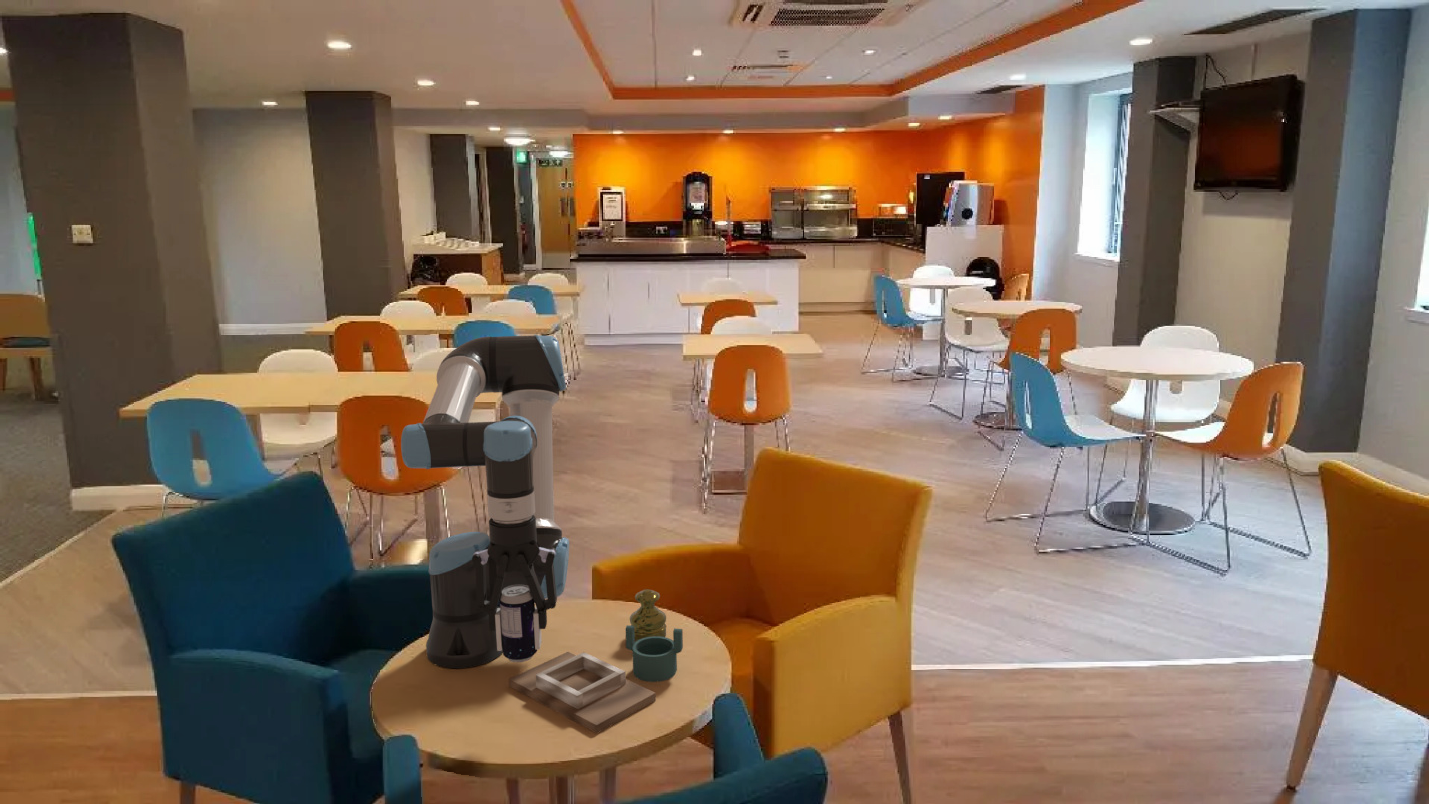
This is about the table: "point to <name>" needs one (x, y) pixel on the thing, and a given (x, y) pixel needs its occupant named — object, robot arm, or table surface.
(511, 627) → the beverage can
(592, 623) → the table surface
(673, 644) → the teal cauldron pot
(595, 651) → the table surface
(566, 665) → the can holder
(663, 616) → the brass calibration weight
